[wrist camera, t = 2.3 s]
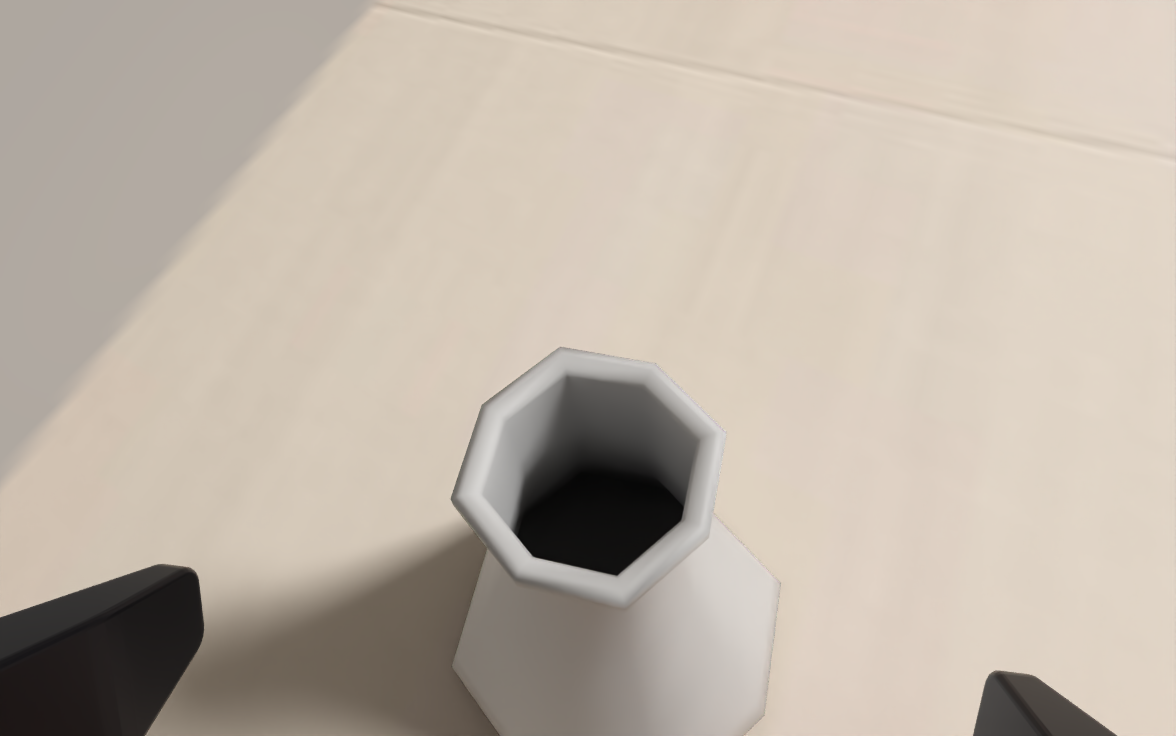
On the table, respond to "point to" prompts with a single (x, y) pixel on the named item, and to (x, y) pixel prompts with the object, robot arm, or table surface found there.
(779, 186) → the table surface
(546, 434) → the flask
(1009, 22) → the table surface
